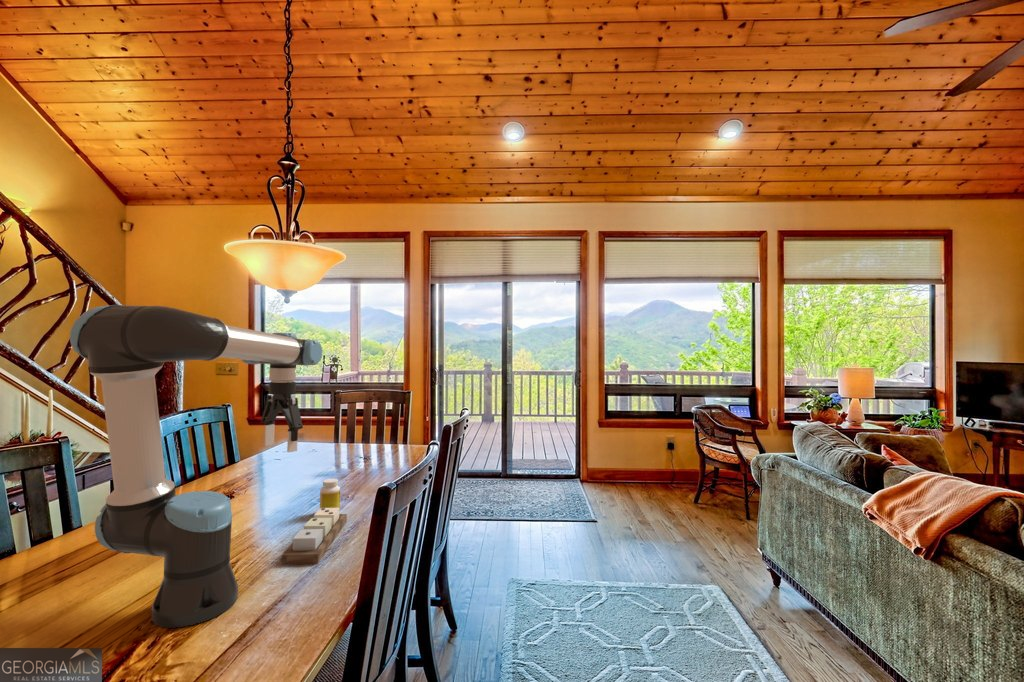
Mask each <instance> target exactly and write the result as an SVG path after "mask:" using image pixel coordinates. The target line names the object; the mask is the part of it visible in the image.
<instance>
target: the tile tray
mask: <svg viewBox="0 0 1024 682" xmlns="http://www.w3.org/2000/svg"><path fill="white" fill-rule="evenodd" d="M347 517H348V515H347V513H339V519H338V520H337V522H336V523H335V524H334V525H331V530H330V531H329V532H328V534H327V535H326V537H323V541H322V542H321V543H320V545H319V546H318V547H317V549H316V550H302V551H293V542H292V543H291V544H290V545H289V546H288V547H287V549H286V550H285V551H284V552H283V553H282V554H281V565H311V564H312V565H317V564H318V565H319V563H320V561H321V560H322V559H323V557H324V556H325V555H326V553H327V551H328V550H329V548H330V547H331V546H332V544H333V543H334V540H336V538H337V537H338V535H339V534H340V532H341V530H343V528H344V527H345V525H346V524H347V519H348V518H347Z"/></svg>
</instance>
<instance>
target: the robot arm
mask: <svg viewBox="0 0 1024 682" xmlns="http://www.w3.org/2000/svg"><path fill="white" fill-rule="evenodd" d="M69 342H70V345H71V347H72V349H73V351H74V352H75V353H76V354H78V355H80V357H81V358H82V359H83V358H84V359H86V360H87V361H88V362H87V363H88V366H89V367H88V369H89V374H91V375H92V376H94V377H95V378H97V379H99V380H100V381H101V389H102V390H101V391H102V399H103V406H104V415H105V424H106V433H107V439H108V440H107V441H108V447H109V456H110V463H111V474H112V481H113V483H112V484H113V490H112V492H111V493H109V494H108V495H107V496H106V498H105V504H104V505H103V507H102V508H101V509H100V511H99V512H100V514H99V515H97V516H96V518H95V522H94V534H95V537H96V539H97V541H98V542H99V544H100V545H101V546H103V547H104V548H105V549H108V550H112V551H114V552H117V553H122V554H139V555H145V556H154V557H162V558H164V559H163V560H164V561H163V578H162V581H161V584H160V586H159V589H158V590H157V593H156V596H155V598H154V601H153V603H152V606H151V622H152V621H153V622H154V623H155V624H156V626H157V625H158V626H157V627H160V628H167V629H168V628H169V629H174V628H176V627H177V628H184V626H185V627H189V626H188V625H190V626H193V625H192V624H194V625H197V624H196V623H198V624H201V623H204V622H207V621H209V620H212V619H214V618H216V617H218V616H220V615H222V614H223V613H225V612H227V611H228V610H229V609H230V608H232V607H233V606H234V605H235V603H236V602H237V600H238V597H239V584H238V581H237V579H236V576H235V573H234V571H233V570H234V569H233V568H232V566H231V543H232V541H231V539H232V522H233V521H232V520H233V511H232V502H231V500H230V498H229V497H228V496H226V495H225V494H223V493H221V492H218V491H217V492H216V491H212V490H202V491H197V490H194V491H187V492H183V493H180V494H179V493H178V494H177V493H176V492H177V491H176V485H175V482H174V481H173V480H170V479H169V478H166V472H165V463H164V460H165V459H164V453H163V452H164V450H163V442H162V433H161V425H160V424H161V423H160V414H159V405H158V403H159V402H158V395H157V384H156V378H155V377H156V374H157V372H159V371H160V370H161V369H162V368H163V365H164V364H163V363H167V362H184V361H185V362H186V361H203V362H204V361H206V362H207V361H208V362H210V361H215V360H217V359H218V358H221V359H234V360H241V361H242V362H243V363H244V364H248V365H262V364H263V365H269V371H268V372H269V373H268V374H269V379H268V380H269V381H270V382H269V383H268V395H267V396H266V403H265V406H264V409H263V412H262V416H261V419H260V422H261V423H263V425H264V446H265V447H268V446H272V445H273V446H274V445H275V427H276V426H275V424H276V422H275V421H276V418H277V417H278V415H279V413H282V414H283V415H284V418H285V420H286V421H285V422H286V423H287V426H288V430H287V444H286V445H287V446H286V447H287V448H286V449H287V450H286V452H287V453H293V452H297V451H298V438H299V437H298V436H299V435H298V434H299V433H298V432H299V431H300V430H301V429H303V428H304V426H303V422H302V417H301V412H300V409H299V408H300V407H299V402H298V398H297V397H292V395H293V394H295V393H296V390H297V387H296V385H297V383H296V381H295V380H296V379H297V378H296V376H297V366H305V367H308V366H316V365H318V364H319V363H320V361H321V360H322V358H323V347H322V344H321V343H320V342H319V341H318V340H317V339H309V338H307V339H303V338H298V335H296V334H295V333H292V332H291V333H290V332H272V333H270V332H266V331H260V330H255V329H249V328H245V327H244V328H243V327H238V326H233V325H229V324H226V323H225V322H223V321H222V320H221V319H219V318H216V317H211V316H207V315H203V314H199V313H195V312H192V311H187V310H183V309H179V308H174V307H171V306H170V307H169V306H162V305H125V304H122V305H121V304H112V305H101V306H97V307H96V306H95V307H93V308H90V309H88V310H86V311H85V312H83V313H82V314H81V315H80V316H79V317H78V318H76V320H75V321H74V322H73V324H72V326H71V328H70V333H69ZM176 494H177V495H176ZM221 613H222V614H221ZM203 621H204V622H203ZM153 622H152V623H153ZM200 622H201V623H200ZM154 623H153V624H154ZM155 624H154V625H155Z"/></svg>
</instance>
